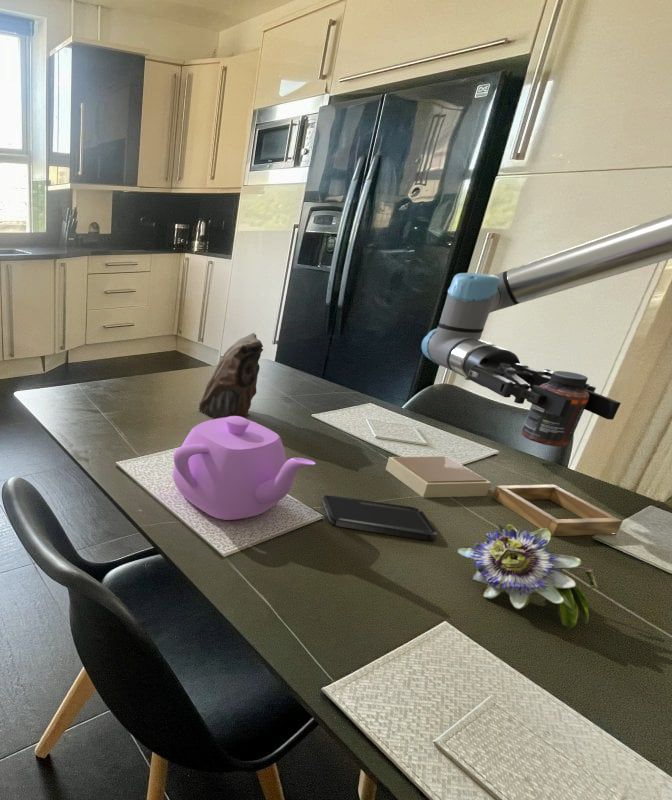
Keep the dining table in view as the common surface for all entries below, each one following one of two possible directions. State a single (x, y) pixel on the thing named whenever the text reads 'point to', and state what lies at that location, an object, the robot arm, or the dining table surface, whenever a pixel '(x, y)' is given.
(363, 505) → the phone
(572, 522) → the rectangular wooden frame
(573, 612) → the passion flower
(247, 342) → the owl
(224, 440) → the teapot
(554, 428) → the supplement bottle
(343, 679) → the dining table surface
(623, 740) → the dining table surface
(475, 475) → the stand
